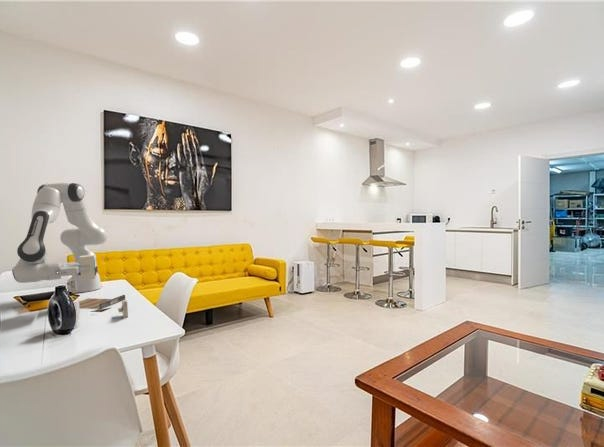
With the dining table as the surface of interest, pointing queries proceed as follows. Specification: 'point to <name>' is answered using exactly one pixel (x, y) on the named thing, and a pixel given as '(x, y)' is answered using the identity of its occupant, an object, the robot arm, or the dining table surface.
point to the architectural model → (124, 309)
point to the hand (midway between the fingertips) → (89, 267)
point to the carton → (89, 267)
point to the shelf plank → (99, 303)
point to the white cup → (77, 314)
